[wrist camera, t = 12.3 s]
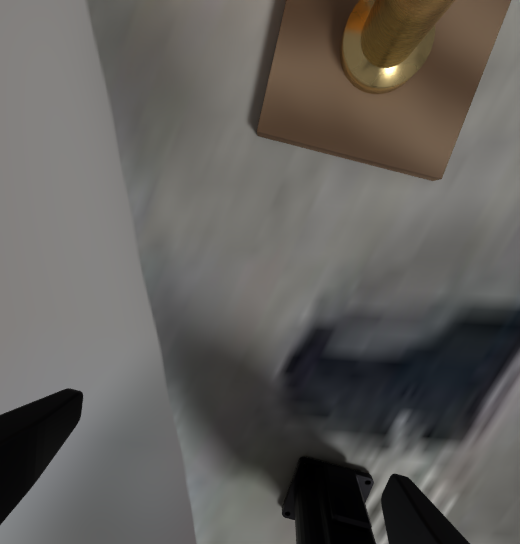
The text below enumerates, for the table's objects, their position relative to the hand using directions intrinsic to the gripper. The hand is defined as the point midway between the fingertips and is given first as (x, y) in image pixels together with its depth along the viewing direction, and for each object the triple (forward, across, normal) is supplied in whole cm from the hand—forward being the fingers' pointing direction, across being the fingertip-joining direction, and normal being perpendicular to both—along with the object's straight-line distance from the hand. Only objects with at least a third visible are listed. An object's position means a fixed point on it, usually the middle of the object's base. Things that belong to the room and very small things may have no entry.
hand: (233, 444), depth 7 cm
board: (+13, -3, -17) cm, 22 cm away
